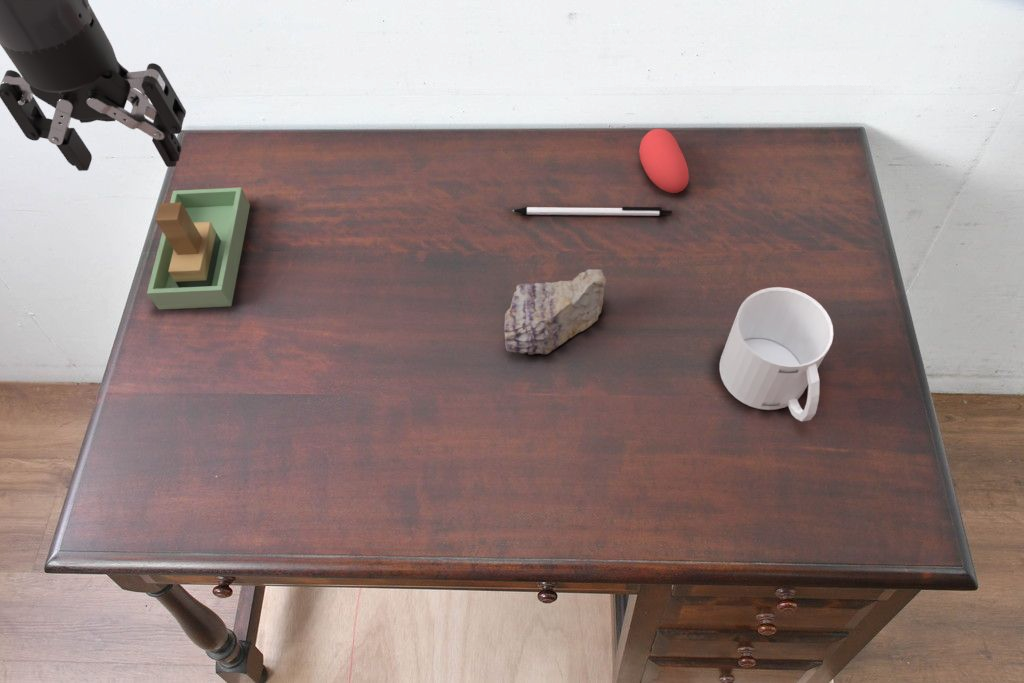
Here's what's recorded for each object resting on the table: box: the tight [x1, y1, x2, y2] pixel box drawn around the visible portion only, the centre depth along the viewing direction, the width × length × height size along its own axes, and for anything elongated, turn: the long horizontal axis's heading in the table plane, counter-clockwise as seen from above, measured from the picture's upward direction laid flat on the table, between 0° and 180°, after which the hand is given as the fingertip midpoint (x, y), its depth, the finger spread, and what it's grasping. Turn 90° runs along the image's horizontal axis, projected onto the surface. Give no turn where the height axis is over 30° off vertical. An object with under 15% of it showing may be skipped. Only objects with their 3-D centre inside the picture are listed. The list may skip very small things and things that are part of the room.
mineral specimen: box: [503, 268, 607, 355], centre depth 86 cm, size 13×7×6 cm, turn 126°
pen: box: [512, 206, 673, 217], centre depth 96 cm, size 1×19×1 cm, turn 87°
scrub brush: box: [154, 202, 221, 288], centre depth 89 cm, size 7×4×10 cm, turn 2°
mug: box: [718, 286, 834, 422], centre depth 79 cm, size 12×9×9 cm
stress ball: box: [638, 128, 690, 194], centre depth 98 cm, size 5×9×6 cm, turn 2°
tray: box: [146, 186, 251, 311], centre depth 94 cm, size 15×8×3 cm, turn 2°
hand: (130, 162), depth 77 cm, fingers open, 8 cm apart
